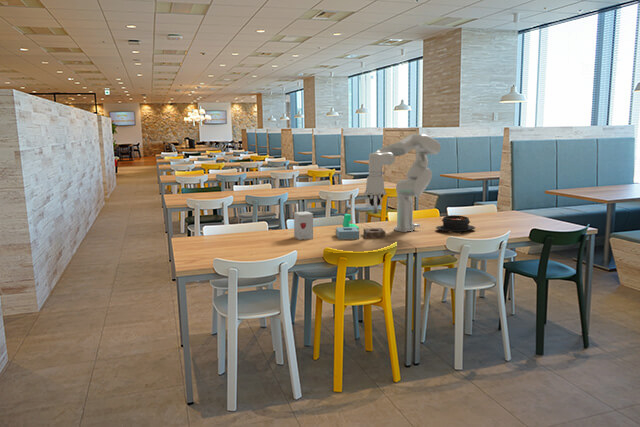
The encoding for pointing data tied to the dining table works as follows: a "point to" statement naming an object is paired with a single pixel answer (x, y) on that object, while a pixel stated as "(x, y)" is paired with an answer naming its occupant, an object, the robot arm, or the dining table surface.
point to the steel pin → (375, 204)
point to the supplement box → (303, 225)
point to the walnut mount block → (374, 233)
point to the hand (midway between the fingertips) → (375, 205)
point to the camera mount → (346, 221)
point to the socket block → (347, 232)
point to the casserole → (455, 224)
